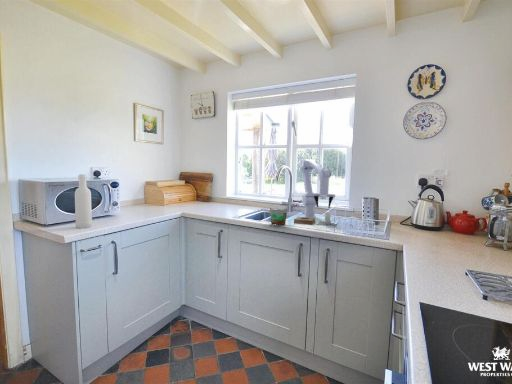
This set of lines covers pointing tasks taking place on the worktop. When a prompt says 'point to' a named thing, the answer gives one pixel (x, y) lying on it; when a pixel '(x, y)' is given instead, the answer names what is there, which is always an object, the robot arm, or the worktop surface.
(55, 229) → the worktop surface
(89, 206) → the bottle
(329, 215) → the steel peg
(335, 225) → the mat
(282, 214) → the food container
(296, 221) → the block
